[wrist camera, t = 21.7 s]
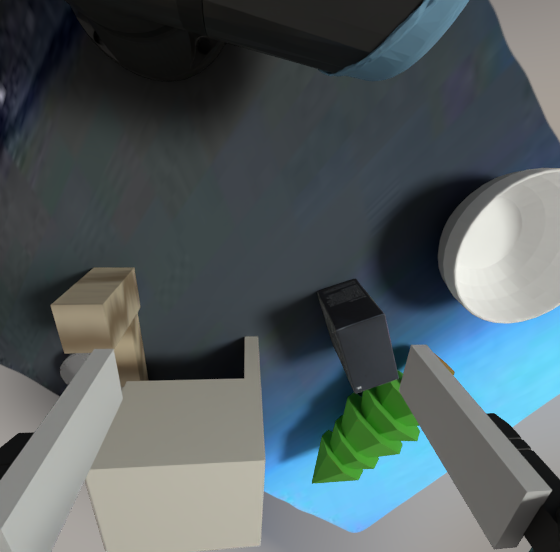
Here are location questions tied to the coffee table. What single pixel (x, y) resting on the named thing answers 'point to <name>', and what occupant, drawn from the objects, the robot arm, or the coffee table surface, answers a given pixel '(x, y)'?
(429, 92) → the coffee table surface
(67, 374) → the grey rounded puck
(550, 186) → the bowl
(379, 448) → the decorative tree
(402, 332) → the coffee table surface
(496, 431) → the robot arm
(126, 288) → the tan l-shaped block
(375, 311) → the small box
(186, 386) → the cabinet
